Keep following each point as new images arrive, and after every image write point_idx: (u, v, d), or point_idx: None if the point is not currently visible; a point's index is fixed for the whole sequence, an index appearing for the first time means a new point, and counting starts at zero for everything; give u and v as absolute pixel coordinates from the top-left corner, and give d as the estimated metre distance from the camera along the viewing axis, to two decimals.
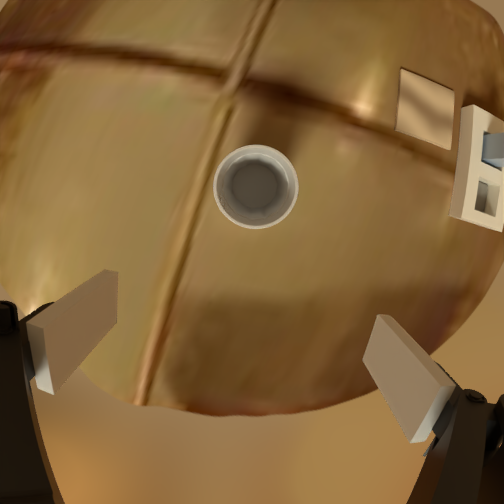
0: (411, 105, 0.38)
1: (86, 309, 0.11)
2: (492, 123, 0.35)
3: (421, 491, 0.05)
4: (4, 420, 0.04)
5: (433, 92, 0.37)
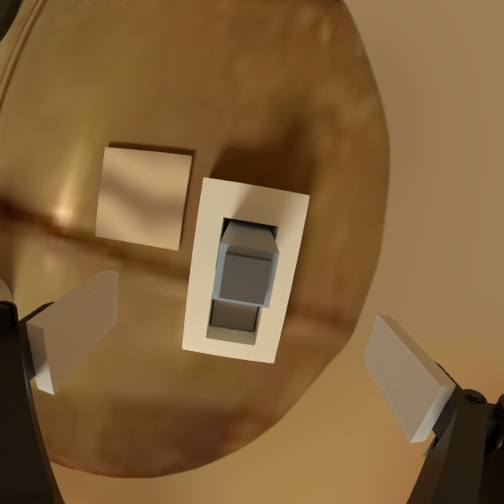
0: (115, 198, 0.32)
1: (86, 309, 0.11)
2: (248, 199, 0.29)
3: (421, 491, 0.05)
4: (4, 420, 0.04)
5: (151, 169, 0.31)
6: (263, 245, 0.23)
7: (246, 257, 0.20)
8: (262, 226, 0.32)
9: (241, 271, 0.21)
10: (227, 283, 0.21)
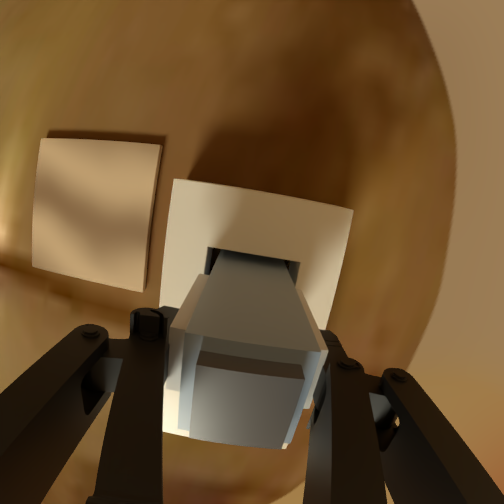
0: (53, 212, 0.20)
1: None
2: (251, 217, 0.17)
3: (316, 473, 0.06)
4: (130, 424, 0.06)
5: (100, 168, 0.19)
6: (282, 325, 0.10)
7: (246, 371, 0.08)
8: (272, 257, 0.20)
9: (233, 398, 0.08)
10: (204, 417, 0.08)
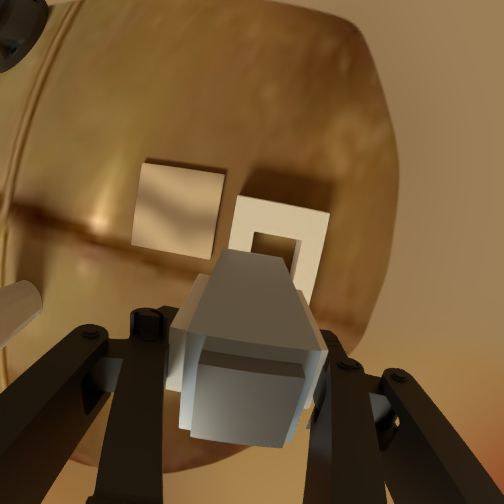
0: (151, 210, 0.36)
1: None
2: (277, 216, 0.33)
3: (316, 473, 0.06)
4: (130, 424, 0.06)
5: (186, 185, 0.35)
6: (283, 324, 0.10)
7: (247, 369, 0.08)
8: (273, 259, 0.20)
9: (235, 396, 0.08)
10: (206, 416, 0.09)
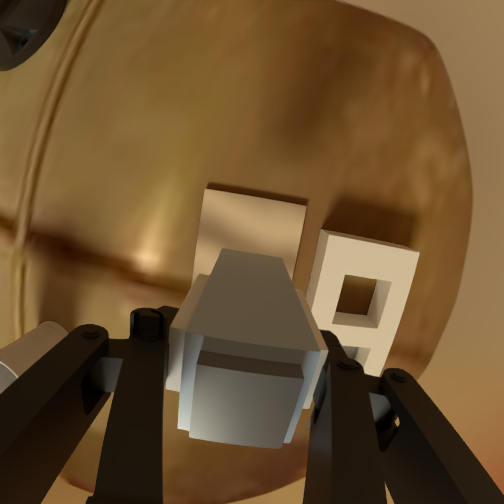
0: (217, 247, 0.31)
1: None
2: (369, 257, 0.29)
3: (316, 473, 0.06)
4: (130, 424, 0.06)
5: (261, 218, 0.31)
6: (282, 325, 0.10)
7: (246, 370, 0.08)
8: (272, 259, 0.20)
9: (234, 397, 0.08)
10: (205, 416, 0.08)
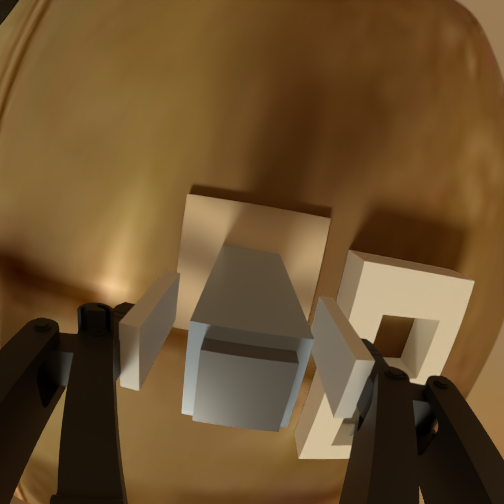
0: (205, 275, 0.22)
1: (162, 308, 0.13)
2: (415, 290, 0.20)
3: (355, 477, 0.06)
4: (84, 420, 0.05)
5: (267, 235, 0.22)
6: (279, 315, 0.11)
7: (245, 355, 0.09)
8: (270, 255, 0.21)
9: (234, 381, 0.09)
10: (207, 400, 0.09)
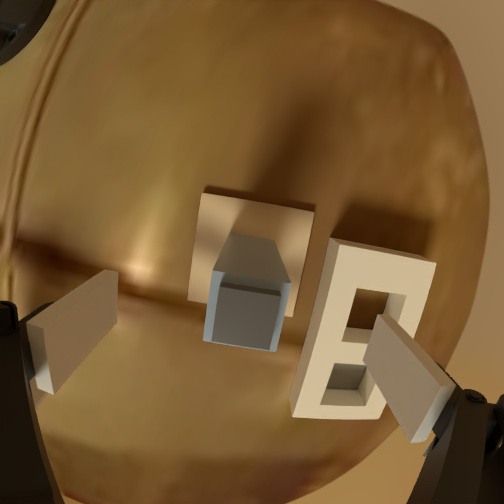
0: (216, 257, 0.28)
1: (86, 309, 0.11)
2: (383, 269, 0.26)
3: (421, 491, 0.05)
4: (4, 420, 0.04)
5: (264, 225, 0.28)
6: (269, 271, 0.17)
7: (247, 290, 0.15)
8: (267, 240, 0.27)
9: (240, 309, 0.15)
10: (222, 323, 0.15)
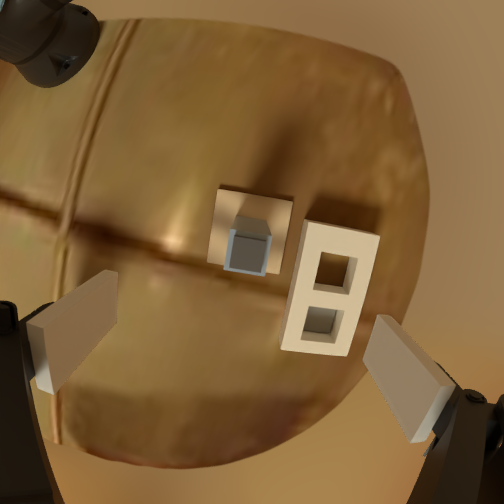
0: (227, 232, 0.42)
1: (86, 309, 0.11)
2: (339, 239, 0.40)
3: (421, 491, 0.05)
4: (4, 420, 0.04)
5: (259, 210, 0.42)
6: (261, 231, 0.31)
7: (248, 238, 0.29)
8: (261, 220, 0.41)
9: (245, 248, 0.29)
10: (235, 257, 0.29)
